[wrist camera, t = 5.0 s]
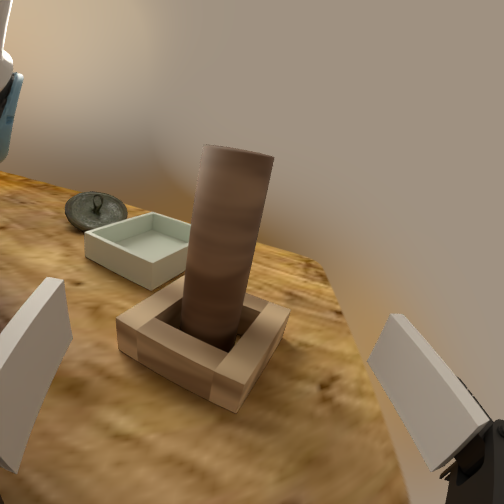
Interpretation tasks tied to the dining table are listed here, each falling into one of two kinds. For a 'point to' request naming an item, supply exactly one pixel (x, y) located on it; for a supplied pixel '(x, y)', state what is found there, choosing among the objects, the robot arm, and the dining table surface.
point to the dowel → (222, 241)
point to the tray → (141, 248)
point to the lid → (94, 210)
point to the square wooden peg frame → (201, 345)
